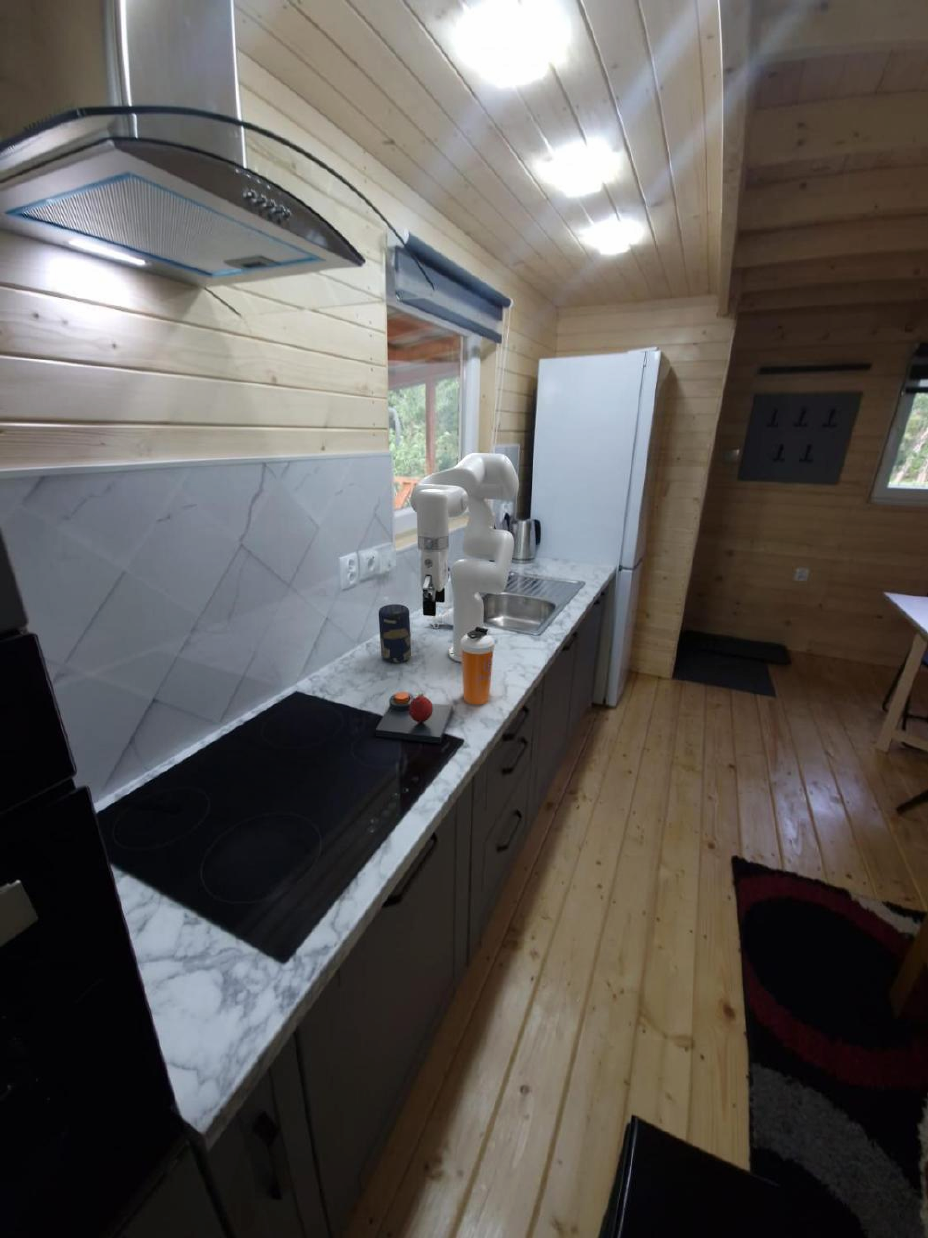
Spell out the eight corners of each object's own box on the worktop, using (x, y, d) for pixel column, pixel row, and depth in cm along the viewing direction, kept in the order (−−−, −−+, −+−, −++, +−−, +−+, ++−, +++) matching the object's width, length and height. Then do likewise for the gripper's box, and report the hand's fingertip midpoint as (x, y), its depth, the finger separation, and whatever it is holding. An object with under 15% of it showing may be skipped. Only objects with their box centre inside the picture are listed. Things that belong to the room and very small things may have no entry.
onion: (429, 730, 118) (428, 701, 115) (406, 727, 119) (405, 699, 116) (435, 717, 124) (435, 689, 121) (413, 714, 125) (412, 686, 122)
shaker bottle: (455, 702, 133) (455, 635, 126) (467, 687, 141) (467, 622, 134) (486, 709, 130) (488, 640, 123) (496, 693, 138) (499, 627, 131)
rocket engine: (423, 601, 178) (472, 592, 176) (430, 611, 189) (476, 603, 187) (427, 631, 174) (477, 622, 172) (434, 640, 185) (481, 631, 183)
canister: (414, 652, 162) (413, 601, 155) (406, 666, 153) (404, 611, 146) (386, 650, 163) (383, 599, 156) (377, 663, 154) (373, 609, 148)
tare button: (397, 696, 130) (397, 691, 130) (410, 697, 130) (410, 692, 129) (393, 703, 127) (393, 698, 127) (406, 704, 127) (406, 699, 126)
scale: (394, 702, 133) (393, 691, 132) (453, 709, 130) (453, 697, 129) (374, 736, 119) (374, 723, 118) (440, 744, 117) (440, 731, 115)
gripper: (440, 552, 111) (440, 622, 117) (455, 535, 127) (455, 598, 133) (408, 550, 112) (410, 620, 119) (427, 533, 128) (428, 596, 134)
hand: (434, 608), depth 126 cm, fingers open, 9 cm apart
